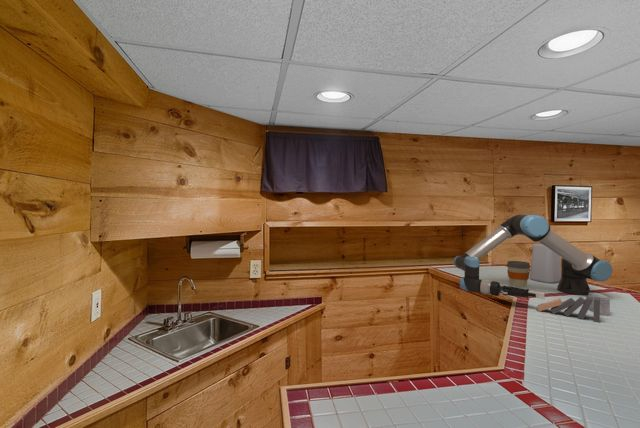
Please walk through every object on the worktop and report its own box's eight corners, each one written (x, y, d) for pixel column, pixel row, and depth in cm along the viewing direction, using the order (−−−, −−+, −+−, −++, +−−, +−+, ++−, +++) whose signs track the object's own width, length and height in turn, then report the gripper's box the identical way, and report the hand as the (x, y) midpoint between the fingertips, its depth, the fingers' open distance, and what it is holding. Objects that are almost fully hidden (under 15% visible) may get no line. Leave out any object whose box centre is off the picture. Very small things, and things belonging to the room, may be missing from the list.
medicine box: (610, 315, 142) (610, 297, 142) (599, 315, 143) (599, 297, 143) (598, 310, 150) (598, 292, 150) (588, 309, 151) (588, 292, 151)
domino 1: (550, 310, 146) (570, 300, 140) (551, 307, 149) (571, 297, 144) (553, 314, 145) (574, 304, 140) (554, 311, 148) (575, 301, 143)
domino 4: (593, 321, 135) (593, 299, 135) (593, 318, 139) (593, 296, 139) (599, 322, 134) (599, 300, 134) (599, 319, 138) (599, 297, 137)
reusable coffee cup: (507, 282, 205) (507, 260, 205) (530, 284, 198) (530, 262, 198) (506, 286, 195) (506, 263, 195) (529, 289, 188) (529, 265, 188)
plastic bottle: (527, 279, 213) (527, 239, 212) (540, 277, 219) (540, 238, 218) (550, 284, 199) (550, 241, 199) (564, 281, 205) (564, 240, 205)
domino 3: (577, 317, 139) (587, 298, 137) (578, 314, 143) (587, 295, 140) (583, 319, 138) (592, 300, 135) (583, 316, 141) (592, 297, 139)
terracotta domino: (536, 307, 149) (558, 300, 143) (538, 305, 153) (559, 298, 147) (539, 311, 149) (561, 304, 143) (540, 308, 152) (562, 302, 146)
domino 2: (563, 313, 142) (580, 299, 138) (564, 310, 146) (580, 296, 142) (567, 316, 141) (584, 302, 137) (568, 313, 145) (585, 299, 141)
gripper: (493, 292, 170) (546, 300, 154) (487, 297, 160) (542, 307, 144) (493, 278, 170) (546, 286, 154) (487, 283, 160) (542, 291, 144)
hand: (544, 296), depth 149 cm, fingers closed
